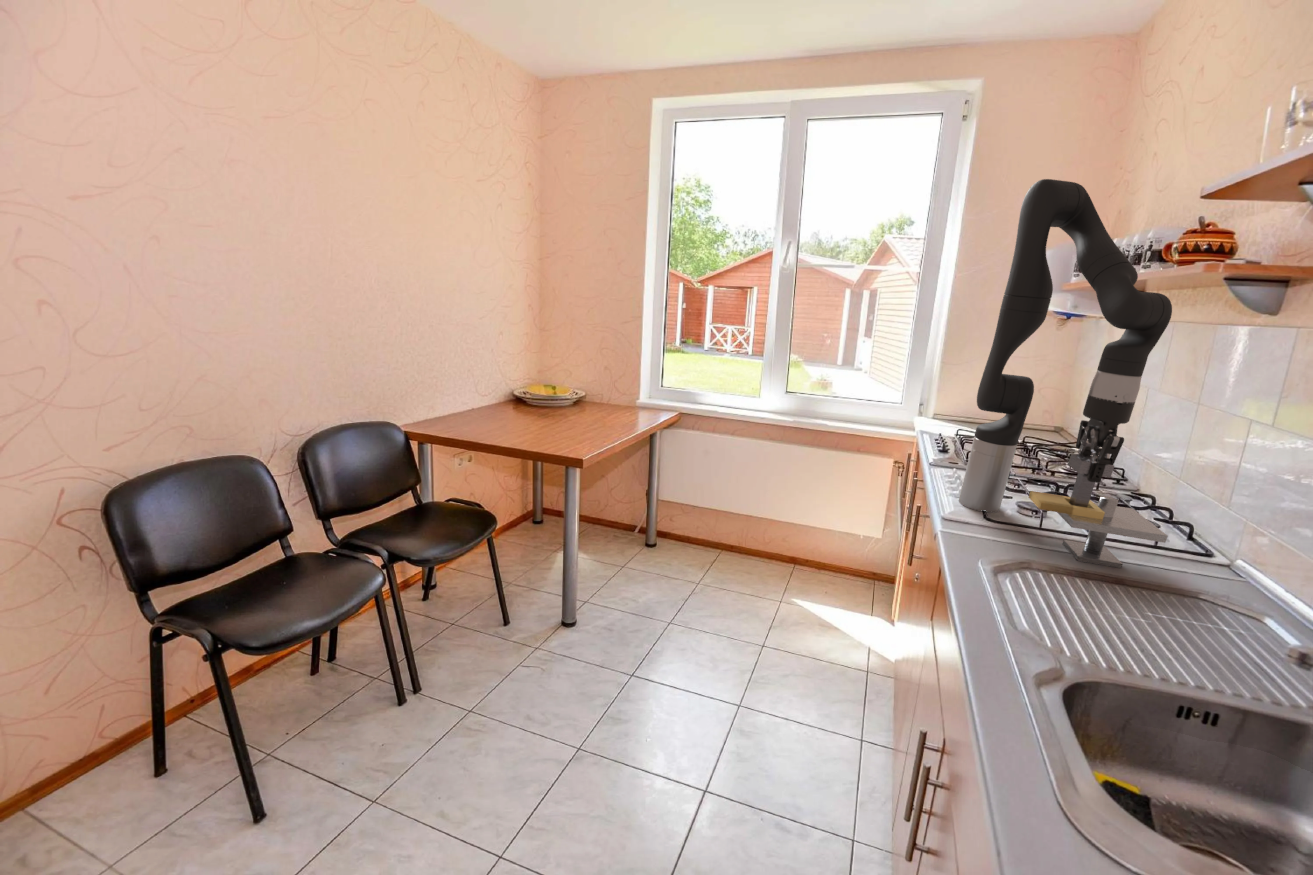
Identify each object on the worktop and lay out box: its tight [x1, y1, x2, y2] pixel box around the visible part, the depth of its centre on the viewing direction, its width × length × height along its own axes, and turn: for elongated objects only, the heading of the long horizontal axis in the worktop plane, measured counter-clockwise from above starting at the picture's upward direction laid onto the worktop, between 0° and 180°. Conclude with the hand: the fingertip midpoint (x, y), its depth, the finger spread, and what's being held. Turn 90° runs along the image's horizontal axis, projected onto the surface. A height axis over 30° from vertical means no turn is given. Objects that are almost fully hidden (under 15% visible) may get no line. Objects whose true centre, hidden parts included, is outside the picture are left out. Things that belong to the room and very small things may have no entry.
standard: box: [1056, 495, 1169, 569], centre depth 121 cm, size 16×14×13 cm
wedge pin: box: [1067, 452, 1115, 508], centre depth 120 cm, size 6×6×12 cm
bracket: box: [1028, 490, 1105, 519], centre depth 122 cm, size 11×7×2 cm, turn 75°
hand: (1087, 476), depth 119 cm, fingers closed on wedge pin, 5 cm apart
